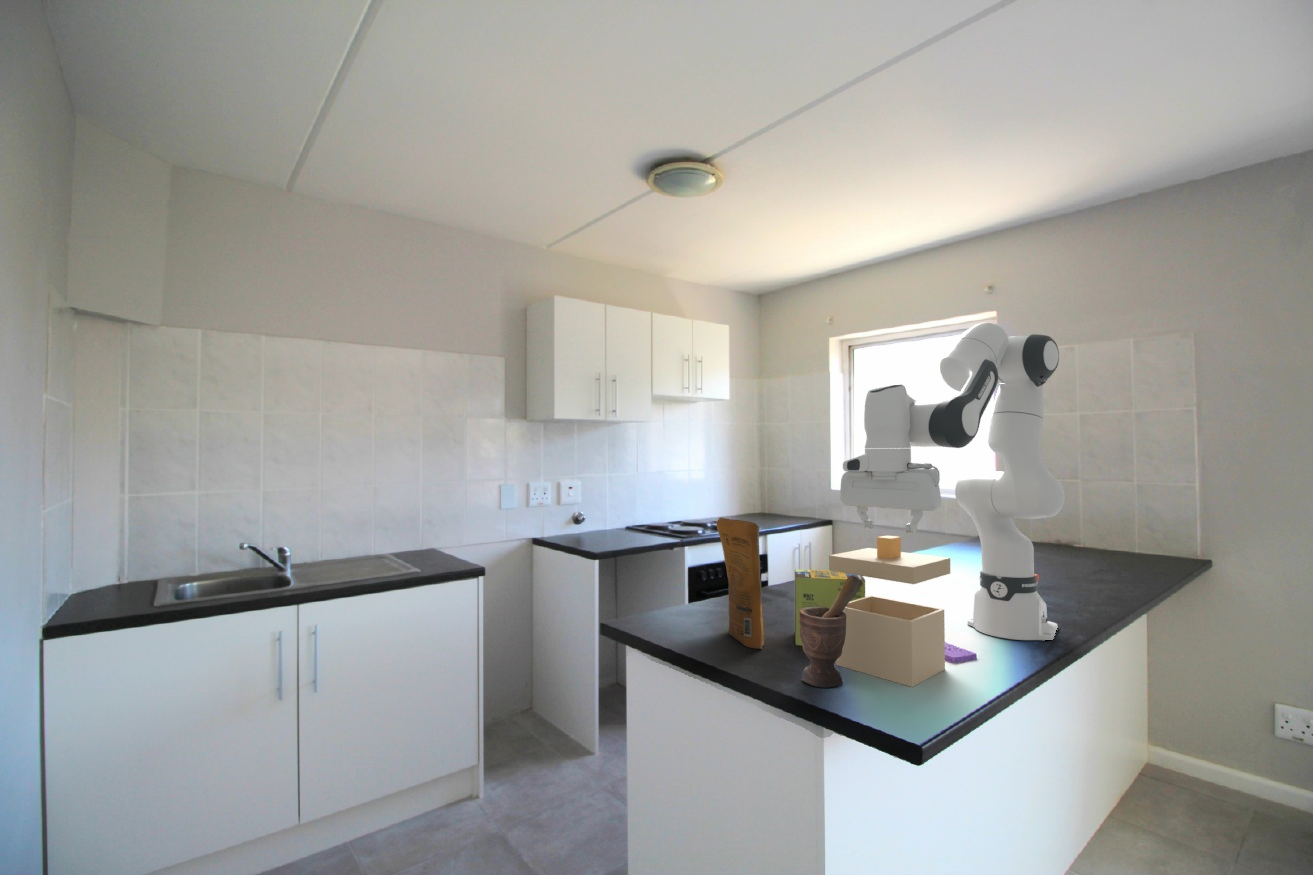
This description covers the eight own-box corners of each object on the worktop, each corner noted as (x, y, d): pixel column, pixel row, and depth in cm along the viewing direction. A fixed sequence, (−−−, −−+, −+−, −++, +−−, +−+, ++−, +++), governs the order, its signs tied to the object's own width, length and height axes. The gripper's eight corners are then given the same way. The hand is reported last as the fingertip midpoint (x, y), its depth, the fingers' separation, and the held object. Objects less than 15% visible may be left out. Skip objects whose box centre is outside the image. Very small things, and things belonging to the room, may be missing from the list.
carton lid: (868, 561, 136) (868, 529, 137) (950, 573, 123) (949, 538, 123) (829, 570, 126) (828, 535, 126) (913, 584, 113) (913, 545, 113)
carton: (871, 650, 135) (870, 595, 135) (944, 669, 123) (944, 609, 123) (835, 664, 125) (835, 605, 126) (912, 686, 113) (911, 621, 114)
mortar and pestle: (837, 668, 123) (836, 568, 124) (869, 683, 115) (868, 576, 116) (790, 677, 118) (790, 573, 119) (820, 693, 110) (820, 581, 111)
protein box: (866, 650, 135) (866, 579, 135) (795, 645, 138) (794, 576, 138) (860, 636, 145) (860, 570, 145) (794, 632, 148) (793, 568, 149)
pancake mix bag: (745, 653, 132) (745, 523, 133) (714, 629, 151) (714, 515, 152) (774, 650, 134) (773, 522, 135) (739, 627, 153) (739, 514, 153)
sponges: (930, 644, 141) (930, 636, 141) (978, 661, 129) (978, 652, 129) (907, 648, 138) (907, 639, 138) (953, 665, 126) (953, 656, 126)
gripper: (946, 462, 119) (947, 533, 119) (851, 462, 135) (852, 525, 134) (931, 463, 115) (933, 537, 115) (835, 462, 131) (836, 527, 130)
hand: (889, 530), depth 125 cm, fingers open, 8 cm apart
